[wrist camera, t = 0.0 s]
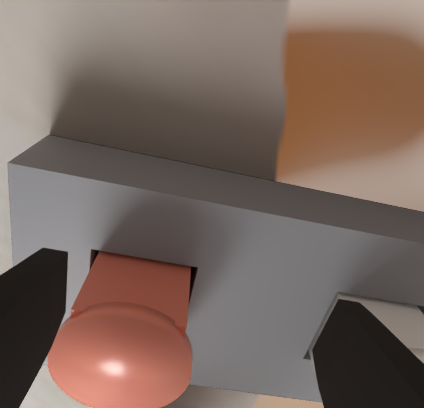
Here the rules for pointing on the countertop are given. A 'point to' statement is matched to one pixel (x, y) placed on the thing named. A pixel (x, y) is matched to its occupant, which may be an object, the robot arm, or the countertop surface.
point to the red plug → (126, 335)
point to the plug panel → (220, 251)
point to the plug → (387, 321)
